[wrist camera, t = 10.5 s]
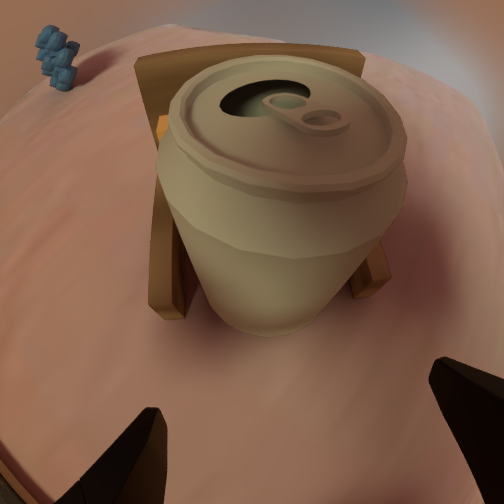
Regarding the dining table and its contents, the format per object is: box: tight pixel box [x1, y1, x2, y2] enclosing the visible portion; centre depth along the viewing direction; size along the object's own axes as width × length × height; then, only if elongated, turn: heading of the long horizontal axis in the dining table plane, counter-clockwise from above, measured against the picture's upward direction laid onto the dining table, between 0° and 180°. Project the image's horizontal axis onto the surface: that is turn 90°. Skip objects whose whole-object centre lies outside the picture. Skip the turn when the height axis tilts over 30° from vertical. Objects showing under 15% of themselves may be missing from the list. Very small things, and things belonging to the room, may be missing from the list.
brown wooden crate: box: [134, 43, 392, 320], centre depth 14 cm, size 11×12×10 cm
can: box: [156, 55, 408, 337], centre depth 12 cm, size 8×8×12 cm
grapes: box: [35, 25, 80, 91], centre depth 24 cm, size 12×7×12 cm, turn 53°
